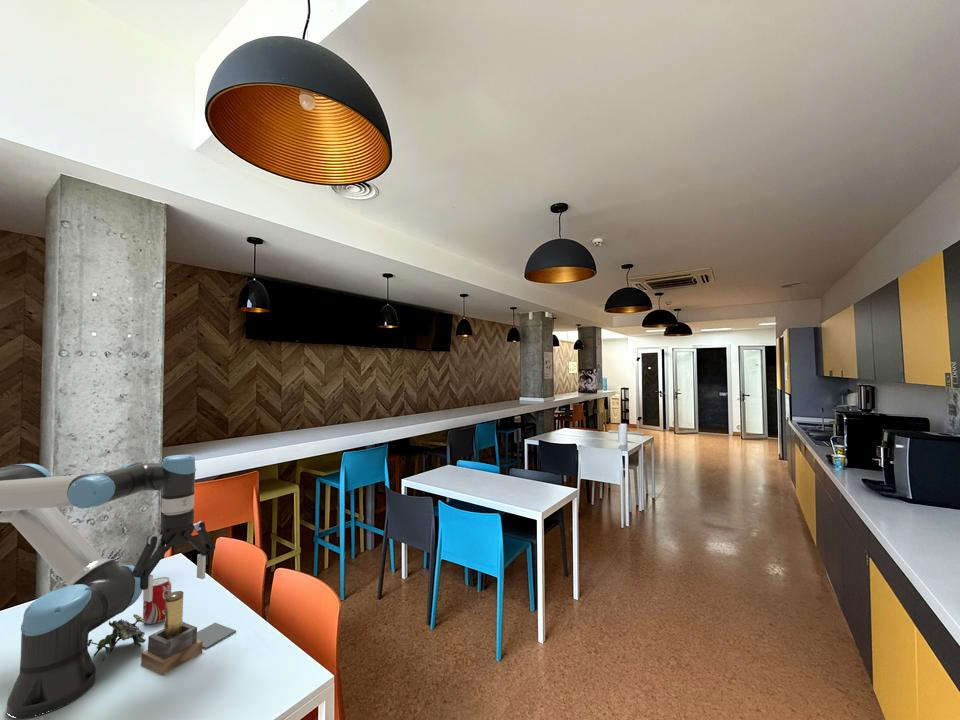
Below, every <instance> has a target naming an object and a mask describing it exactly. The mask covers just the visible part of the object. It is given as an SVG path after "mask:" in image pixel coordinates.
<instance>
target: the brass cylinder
mask: <svg viewBox="0 0 960 720" xmlns="http://www.w3.org/2000/svg"><path fill="white" fill-rule="evenodd" d="M183 612H184V591H183V590H177V591H176V590H175V591H171V593H169V594H168V595H166V599H165V619H164V625H163V626H164V627H163V629H164V639H167V640H169V639H171V638H173V637H175V636H177V635H179V634H181V633H182V622H183V616H184V615H183V614H184V613H183Z"/></svg>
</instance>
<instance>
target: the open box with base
mask: <svg viewBox="0 0 960 720" xmlns="http://www.w3.org/2000/svg"><path fill="white" fill-rule="evenodd" d="M197 632H198V627H197V626H195V625H192V624H189V623H187V622H185V621H182V633H181V634H179V635H177V636H175V637H173V638H171V639H169V640H167V639H164V628H162V629H160V630H158V631H156V632H154V633H152V634H150V635H148V637H147V638H148V639H147V643H148V644H147V649H146V650H143V651H142V652H140V653H141V654H140V656H141V657H140V665H142V664H143V665H142V666H144V667H146V668H148V669H150V670H152V671H153V672H156V673H158V674H159V675H162V676H164V675H165V674H167V673H168V672H170V671H172V670H174V669H175V668H177V667H179V666H180V665H182V664H183V663H186V662H188V661H189V660H191V659H193V658H194V657H196V656H198V655H199V654H201V653H203V648H202V643H203V641H201V640H199V639H197Z"/></svg>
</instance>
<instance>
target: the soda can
mask: <svg viewBox="0 0 960 720" xmlns="http://www.w3.org/2000/svg"><path fill="white" fill-rule="evenodd" d="M169 593H172V583H171V581H170V577H167V576H164V577H157V578H153V593H152V601H150V602H147V601H145V600H143V599H142V600H143V603H142V606H143V607H142V618H143V619H144V620H145V622H144V624H148V625H154V623H155V624H157V623H160V622H163V621H165V599H166V595H168V594H169Z"/></svg>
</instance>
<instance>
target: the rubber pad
mask: <svg viewBox="0 0 960 720" xmlns="http://www.w3.org/2000/svg"><path fill="white" fill-rule="evenodd" d="M235 632H236V633H237V630H236V629H233V628H231V627H228V626H225V625H223V624H220V623H218V622H213V623H212V624H210V625H208V626H206V627H204V628H202V629H200V630H197V639H199V640H201V641H203V643H202V650H205V651H207V650H208V649H210V648H212V647H213V646H215V645H216V644H218V642H219V643H221V641H224V640H225V639H228V638H229V637H231V636H232V635H234V634H235ZM233 633H234V634H233ZM231 634H232V635H231ZM230 635H231V636H230ZM223 639H224V640H223Z"/></svg>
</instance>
